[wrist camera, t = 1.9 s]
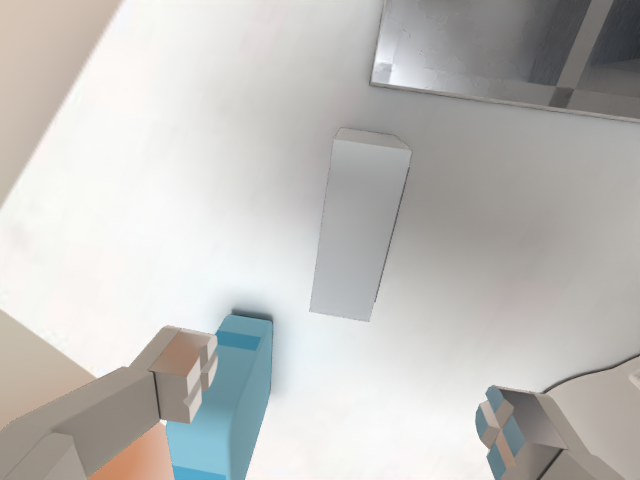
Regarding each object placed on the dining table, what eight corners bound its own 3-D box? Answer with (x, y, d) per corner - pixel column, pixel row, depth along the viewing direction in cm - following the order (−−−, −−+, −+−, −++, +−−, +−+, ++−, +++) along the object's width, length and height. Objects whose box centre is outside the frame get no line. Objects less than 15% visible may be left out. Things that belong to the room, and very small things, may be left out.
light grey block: (397, 135, 22) (417, 151, 15) (368, 263, 27) (372, 322, 20) (341, 127, 23) (333, 139, 15) (321, 255, 27) (309, 311, 20)
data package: (230, 307, 31) (161, 418, 20) (273, 314, 30) (227, 430, 20) (233, 388, 36) (179, 512, 25) (270, 394, 36) (232, 523, 25)
